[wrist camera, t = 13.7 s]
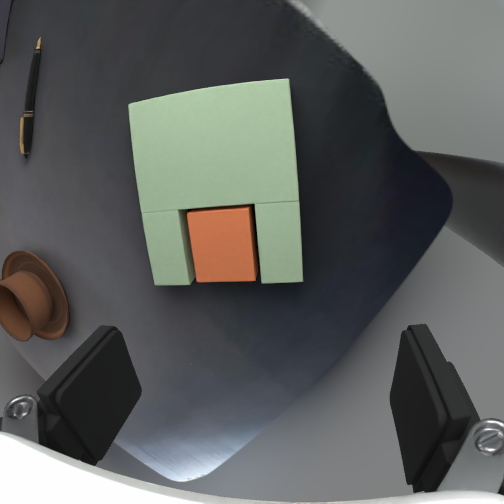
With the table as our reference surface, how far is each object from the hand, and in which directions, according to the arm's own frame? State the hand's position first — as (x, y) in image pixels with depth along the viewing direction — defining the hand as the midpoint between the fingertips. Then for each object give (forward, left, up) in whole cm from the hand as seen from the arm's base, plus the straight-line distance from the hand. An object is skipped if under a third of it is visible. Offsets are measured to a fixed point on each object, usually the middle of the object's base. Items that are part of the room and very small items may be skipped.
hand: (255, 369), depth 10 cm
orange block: (+5, +1, -19) cm, 19 cm away
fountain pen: (+25, -17, -19) cm, 35 cm away
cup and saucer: (+30, +6, -19) cm, 36 cm away
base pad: (+5, -4, -19) cm, 20 cm away
